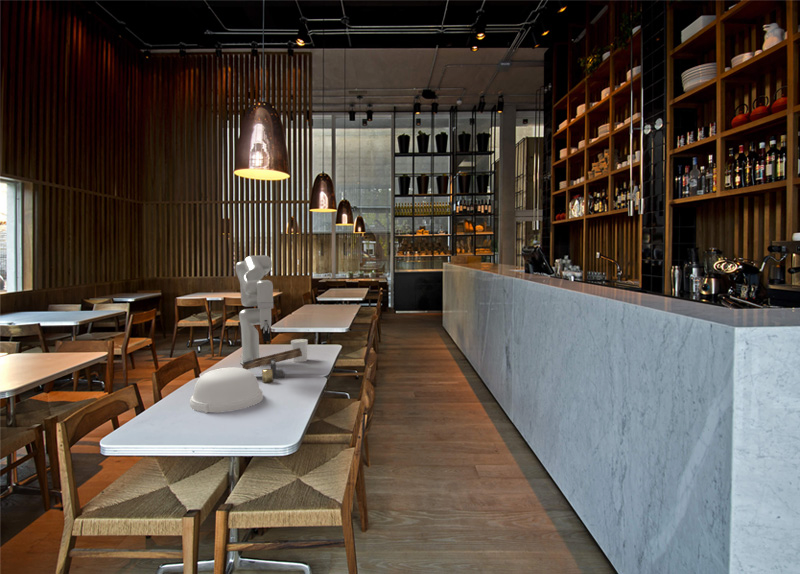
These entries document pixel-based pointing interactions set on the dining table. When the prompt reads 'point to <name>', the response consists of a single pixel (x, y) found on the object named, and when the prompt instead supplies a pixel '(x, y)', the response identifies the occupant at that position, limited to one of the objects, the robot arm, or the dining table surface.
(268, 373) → the brass weight
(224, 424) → the dining table surface
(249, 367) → the balance beam
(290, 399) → the dining table surface
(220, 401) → the dome cover
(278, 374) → the beam stand
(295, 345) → the candle holder
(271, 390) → the dining table surface
